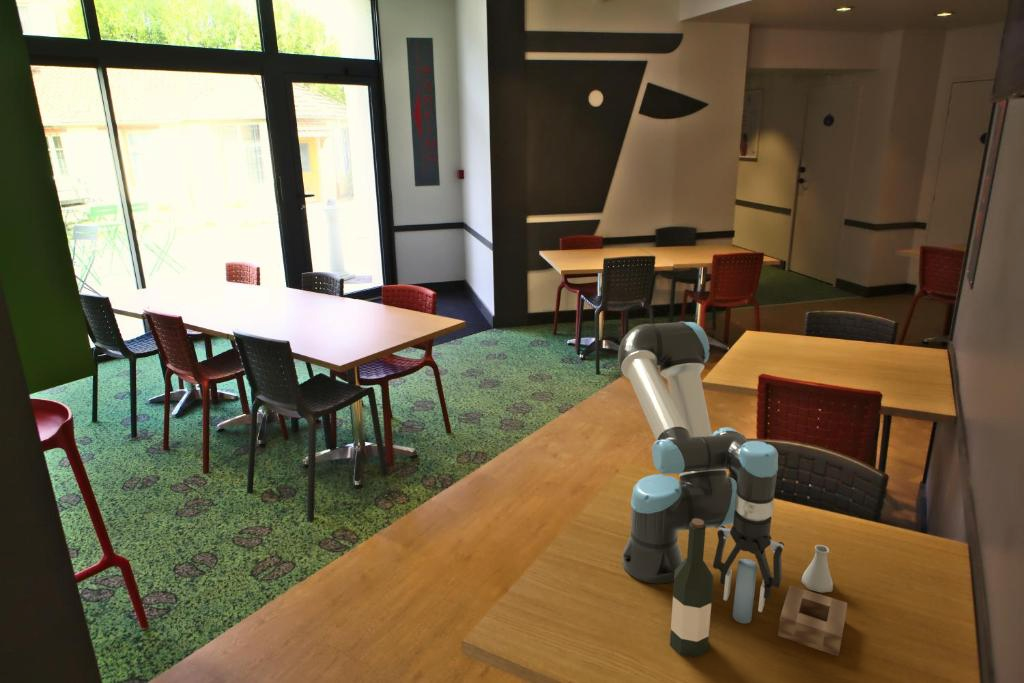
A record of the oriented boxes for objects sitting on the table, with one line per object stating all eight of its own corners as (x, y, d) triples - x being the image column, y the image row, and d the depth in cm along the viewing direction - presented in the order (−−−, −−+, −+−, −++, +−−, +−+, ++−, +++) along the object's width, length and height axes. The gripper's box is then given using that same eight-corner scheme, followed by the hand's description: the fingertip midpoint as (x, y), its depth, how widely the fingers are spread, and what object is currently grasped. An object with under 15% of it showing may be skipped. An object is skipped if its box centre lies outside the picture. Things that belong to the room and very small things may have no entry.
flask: (837, 595, 153) (842, 559, 150) (804, 591, 154) (809, 556, 152) (829, 576, 160) (834, 541, 157) (797, 573, 161) (802, 538, 158)
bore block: (777, 635, 141) (780, 616, 139) (787, 603, 151) (789, 585, 149) (838, 656, 135) (841, 637, 133) (844, 621, 145) (847, 602, 143)
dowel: (730, 619, 146) (736, 566, 142) (735, 608, 149) (740, 556, 145) (749, 625, 144) (755, 572, 140) (753, 614, 147) (758, 562, 143)
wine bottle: (679, 624, 145) (687, 506, 136) (715, 640, 140) (726, 519, 131) (662, 645, 139) (669, 523, 130) (698, 664, 134) (709, 538, 125)
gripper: (702, 508, 141) (695, 597, 147) (799, 534, 131) (787, 628, 137) (711, 492, 147) (704, 578, 153) (805, 516, 137) (793, 607, 143)
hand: (743, 602), depth 145 cm, fingers open, 7 cm apart
